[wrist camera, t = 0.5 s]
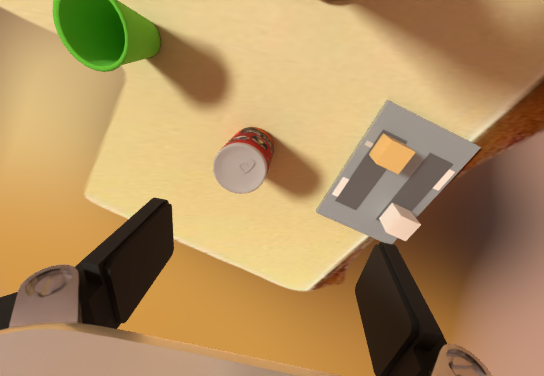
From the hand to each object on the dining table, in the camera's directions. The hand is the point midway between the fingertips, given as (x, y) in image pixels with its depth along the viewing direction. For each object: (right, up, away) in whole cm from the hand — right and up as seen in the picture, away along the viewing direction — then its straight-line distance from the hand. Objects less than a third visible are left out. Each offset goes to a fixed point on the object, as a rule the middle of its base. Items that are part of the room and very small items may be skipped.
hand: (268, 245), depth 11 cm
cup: (-20, +26, +26) cm, 42 cm away
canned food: (-3, +10, +33) cm, 34 cm away
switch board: (+22, +4, +32) cm, 39 cm away
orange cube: (+19, +9, +29) cm, 36 cm away
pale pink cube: (+23, -2, +34) cm, 41 cm away
